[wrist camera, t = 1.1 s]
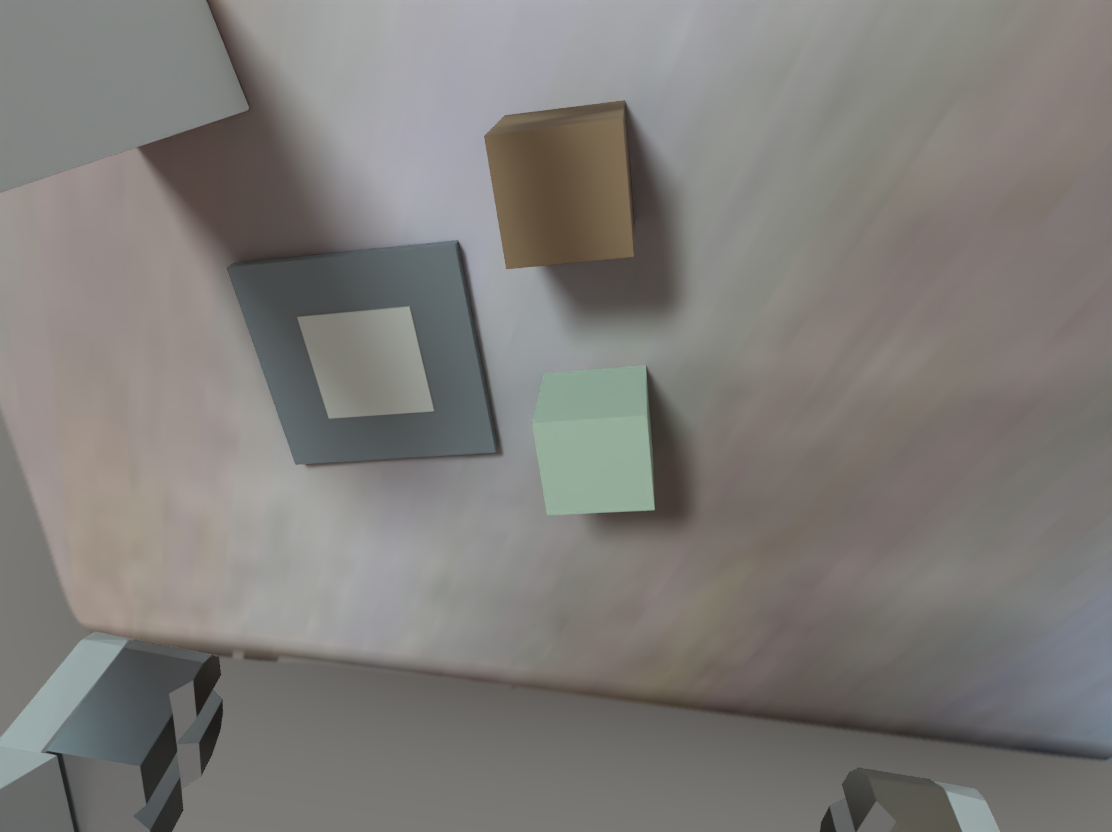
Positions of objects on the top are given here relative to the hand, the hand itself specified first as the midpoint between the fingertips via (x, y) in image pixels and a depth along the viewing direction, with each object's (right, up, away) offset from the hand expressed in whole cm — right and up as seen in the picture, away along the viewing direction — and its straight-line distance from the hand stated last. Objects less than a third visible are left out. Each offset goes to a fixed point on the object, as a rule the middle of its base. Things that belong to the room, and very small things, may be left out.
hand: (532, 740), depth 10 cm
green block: (+3, +4, +29) cm, 29 cm away
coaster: (-9, +7, +28) cm, 30 cm away
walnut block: (+1, +15, +23) cm, 27 cm away
